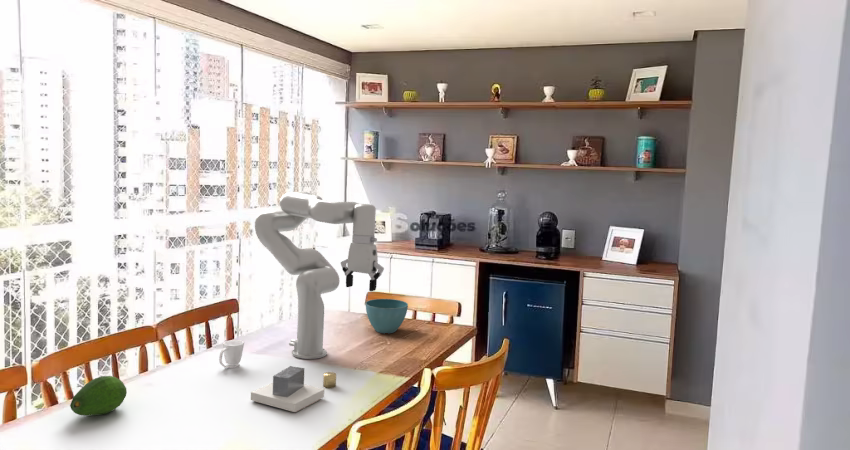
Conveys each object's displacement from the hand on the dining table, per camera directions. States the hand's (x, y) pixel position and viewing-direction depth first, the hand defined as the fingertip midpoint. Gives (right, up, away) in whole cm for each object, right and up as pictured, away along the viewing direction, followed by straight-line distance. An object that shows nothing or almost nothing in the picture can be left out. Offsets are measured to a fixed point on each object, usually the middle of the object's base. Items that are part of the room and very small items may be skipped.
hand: (360, 288), depth 215 cm
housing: (-18, -27, -32) cm, 45 cm away
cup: (-44, -26, -5) cm, 51 cm away
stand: (-18, -30, -32) cm, 47 cm away
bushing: (-8, -29, -18) cm, 35 cm away
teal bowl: (+5, -24, +52) cm, 58 cm away
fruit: (-66, -29, -49) cm, 87 cm away
